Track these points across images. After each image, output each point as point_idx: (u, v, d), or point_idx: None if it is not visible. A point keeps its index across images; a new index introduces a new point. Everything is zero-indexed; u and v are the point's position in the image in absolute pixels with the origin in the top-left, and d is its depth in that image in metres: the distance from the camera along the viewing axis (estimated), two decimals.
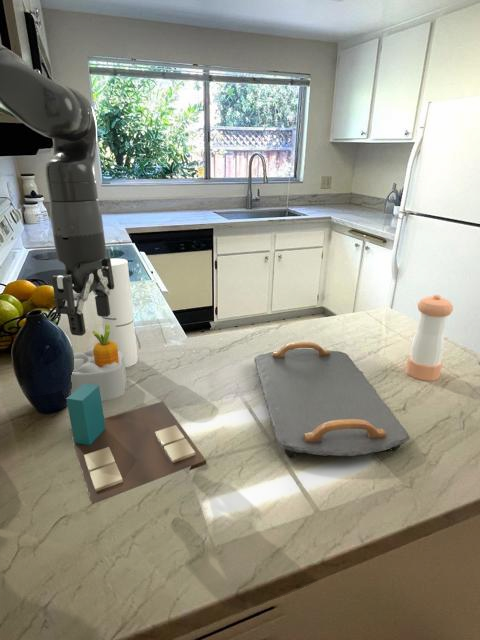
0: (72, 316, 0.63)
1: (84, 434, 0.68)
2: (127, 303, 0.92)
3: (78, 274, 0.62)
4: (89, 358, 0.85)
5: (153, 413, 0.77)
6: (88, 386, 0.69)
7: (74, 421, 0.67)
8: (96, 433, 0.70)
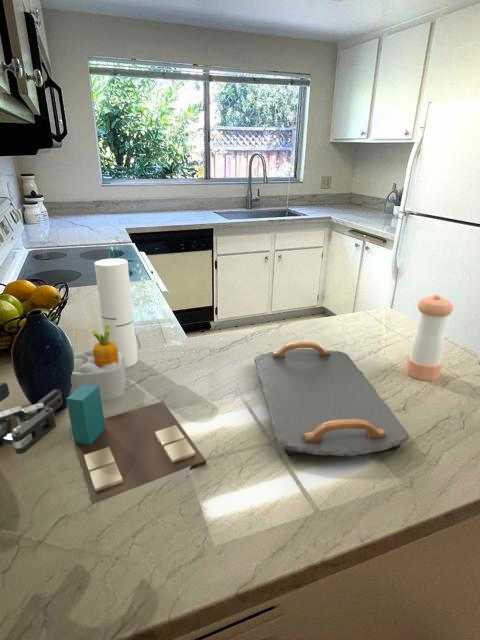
0: None
1: (84, 434, 0.68)
2: (127, 303, 0.92)
3: None
4: (89, 358, 0.85)
5: (153, 413, 0.77)
6: (88, 386, 0.69)
7: (74, 421, 0.67)
8: (96, 433, 0.70)
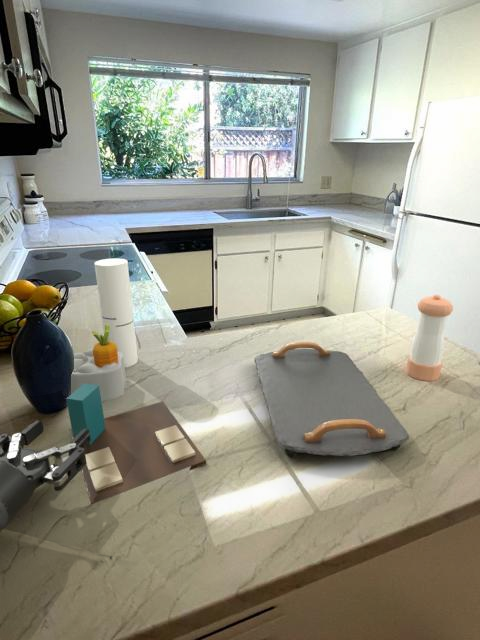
0: None
1: None
2: (127, 303, 0.92)
3: None
4: (89, 358, 0.85)
5: (153, 413, 0.77)
6: (88, 386, 0.69)
7: (74, 421, 0.67)
8: (96, 433, 0.70)
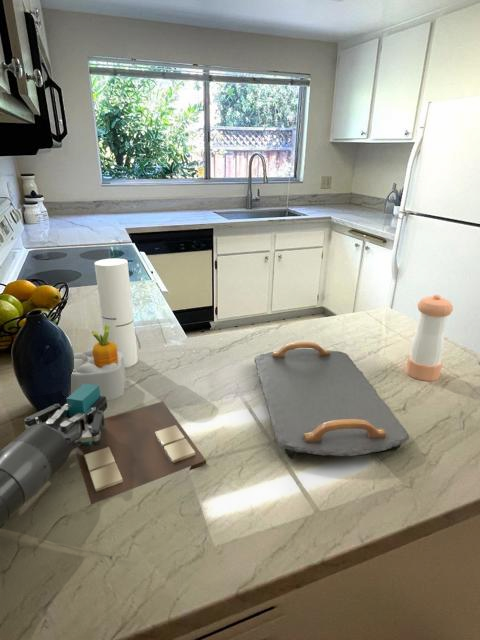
0: None
1: None
2: (127, 303, 0.92)
3: None
4: (89, 358, 0.85)
5: (153, 413, 0.77)
6: (88, 386, 0.69)
7: None
8: None
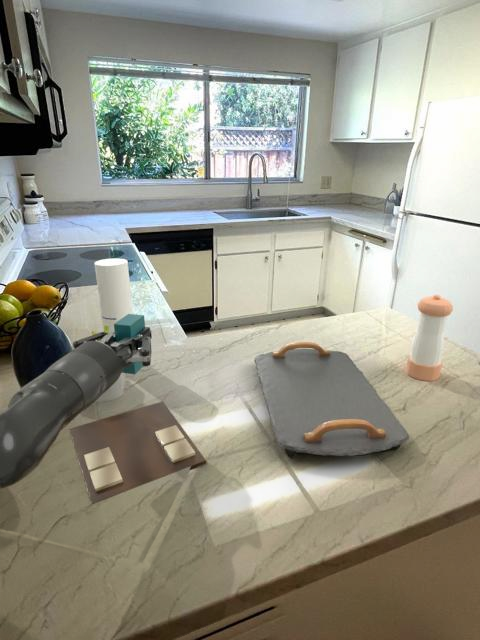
0: None
1: None
2: (127, 303, 0.92)
3: None
4: None
5: (153, 413, 0.77)
6: (134, 315, 0.69)
7: None
8: (140, 364, 0.70)
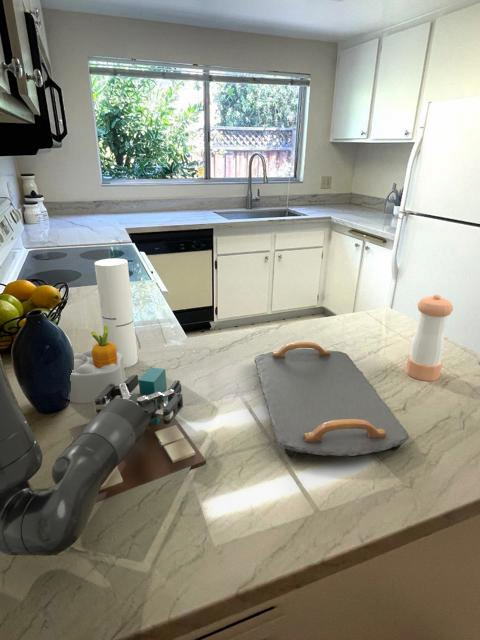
0: None
1: None
2: (127, 303, 0.92)
3: None
4: (88, 359, 0.85)
5: None
6: (156, 369, 0.75)
7: None
8: None
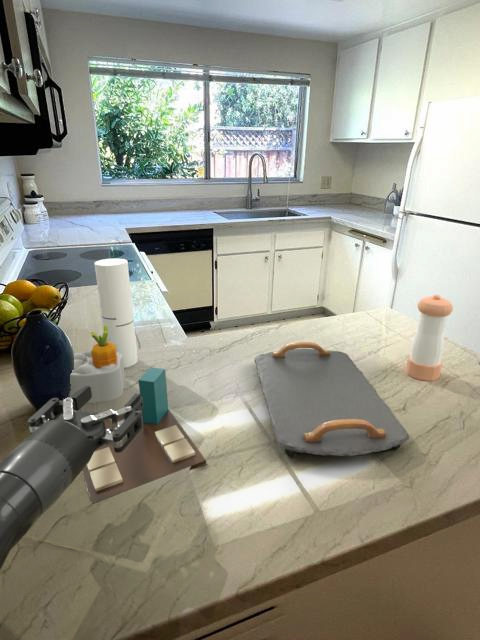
0: None
1: (153, 413, 0.73)
2: (127, 303, 0.92)
3: None
4: (88, 359, 0.85)
5: None
6: (156, 369, 0.75)
7: (145, 401, 0.73)
8: (162, 414, 0.76)
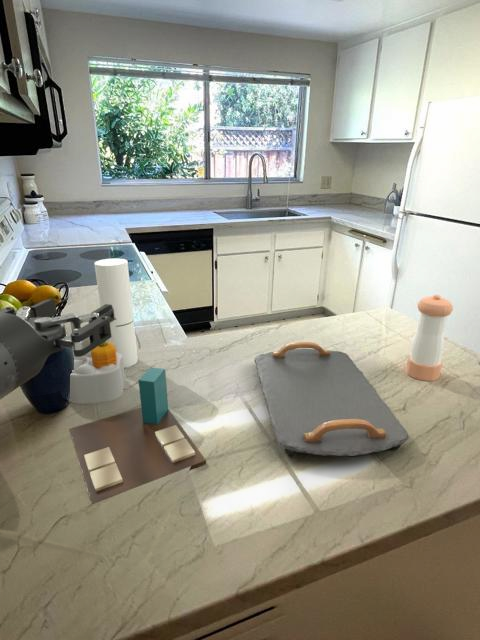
0: None
1: (153, 413, 0.73)
2: (127, 303, 0.92)
3: None
4: (88, 359, 0.84)
5: None
6: (156, 369, 0.75)
7: (145, 401, 0.73)
8: (162, 414, 0.76)
